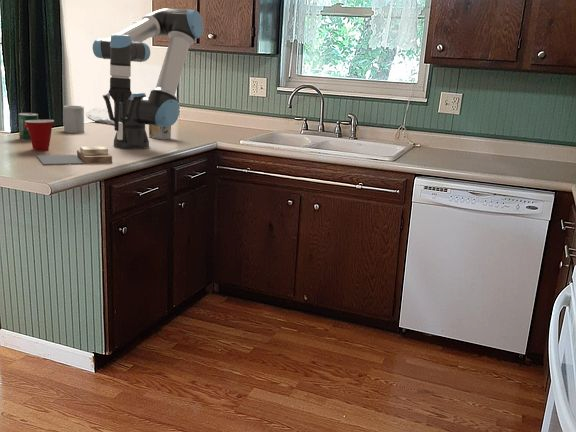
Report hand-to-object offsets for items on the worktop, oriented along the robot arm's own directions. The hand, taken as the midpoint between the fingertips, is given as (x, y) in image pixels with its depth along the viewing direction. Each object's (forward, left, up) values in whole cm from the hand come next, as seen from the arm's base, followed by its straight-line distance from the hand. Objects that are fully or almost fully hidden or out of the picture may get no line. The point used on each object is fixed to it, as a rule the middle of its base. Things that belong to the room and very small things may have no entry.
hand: (119, 139), depth 233 cm
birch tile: (+10, 0, -5) cm, 11 cm away
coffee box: (-32, -50, -8) cm, 60 cm away
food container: (-20, -100, -8) cm, 102 cm away
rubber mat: (+22, 0, -8) cm, 24 cm away
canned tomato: (+27, -49, -8) cm, 56 cm away
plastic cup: (+26, -24, -8) cm, 36 cm away
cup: (+4, -71, -8) cm, 71 cm away
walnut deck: (+10, 0, -8) cm, 13 cm away
